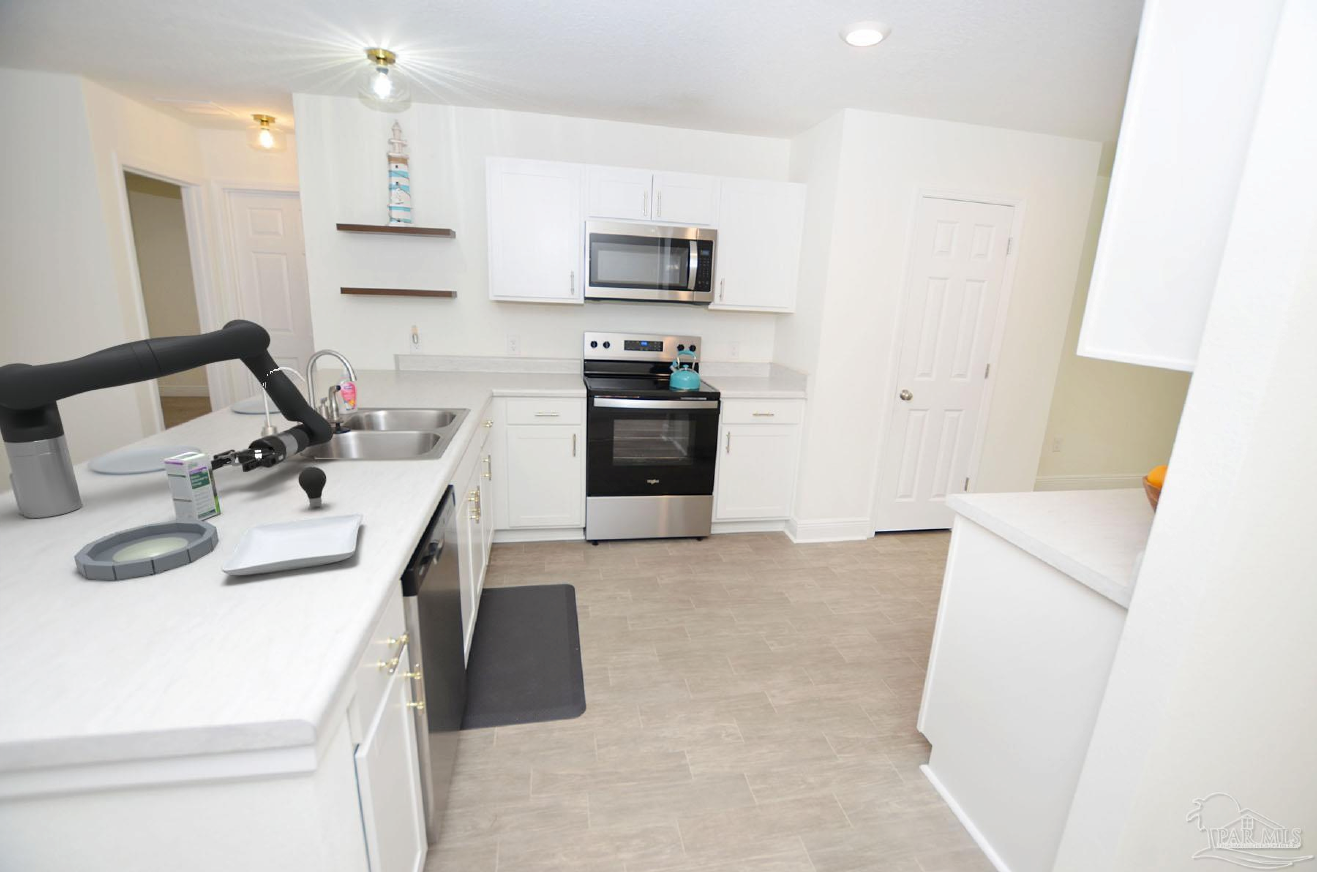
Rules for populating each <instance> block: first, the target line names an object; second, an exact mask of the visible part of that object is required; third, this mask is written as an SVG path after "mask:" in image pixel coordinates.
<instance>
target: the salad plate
mask: <svg viewBox="0 0 1317 872" xmlns="http://www.w3.org/2000/svg"><path fill="white" fill-rule="evenodd" d="M362 520H363V514H362V513H360V512H358V513H348V514H347V513H346V514H337V515H329V516H319V517H309V518H304V519H294V520H293V519H292V520H286V521H279V522H271V523H263V524H256V525H250V526H249V527H248V528H247V529H246V531H244V534H243V535H242V537H241V538H240V540H239V542H238V544H237V545H236V546H235V548H234V549H233V550H232V552H231V554H230V555H229V556H228V558H227V560H226V561H225V562H224V563H223V565H222V567H221V571H222V573H224V574H227V575H230V576H231V575H232V576H248V575H250V576H251V575H261V574H268V573H275V572H276V573H277V572H282V571H283V570H284V571H291V570H297V569H303V568H309V567H317V566H323V565H329V564H333V563H336V562H341V561H344V560H346V559H348V558H350V557H352V556H353V555H354V553H356V549H357V539H358V532H359V529H360V525H361V523H362ZM260 573H261V574H260Z"/></svg>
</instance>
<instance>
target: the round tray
mask: <svg viewBox="0 0 1317 872" xmlns="http://www.w3.org/2000/svg"><path fill="white" fill-rule="evenodd" d="M218 542H219V535H218V530H217V526H215V525H214V524H212V523H209V522H208V521H205V520H202V521H194V520H177V519H176V520H170V521H163V522H162V521H161V522H152V523H148V524H143V525H139V526H135V527H131V528H128V529H124V530H119V531H116V532H114V533H109V534H108V535H105V536H103V537H101V538H98V539H96V540H94V541H91V542H88V543H87V544H85V545H84V546H83V547H82V548H81V549H79V551H78V552H76V554H75V555H74V556H73V559H74V562H75V566H76V569H77V572H78V573H79V574H81V575H82V576H83V577H84V578H85V579H86V580H95V579H97V580H99V579H100V580H102V581H121V579H122V580H127V579H133V578H132V577H135V578H138V577H137V576H141V577H146V576H145V575H147V576H151V575H150V574H154V573H155V574H156V573H157V574H160V573H159V572H161V573H163V572H162V571H164V570H167V571H170V570H172V569H171V568H173V569H176V568H179V567H178V566H180V565H183V566H186V565H188V563H189V562H190V563H193V562H195V561H197V560H198V558H199V559H201V558H202V557H204V556H206V555H209V553H211V552H213V551H214V550H215V548H216V546H217V544H218ZM210 551H211V552H210ZM205 554H206V555H205ZM196 559H197V560H196ZM194 560H195V561H194ZM190 563H189V564H190ZM185 564H186V565H185ZM180 567H181V566H180ZM169 569H170V570H169ZM164 572H165V571H164ZM155 574H154V575H155ZM100 580H99V581H100Z"/></svg>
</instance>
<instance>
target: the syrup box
mask: <svg viewBox="0 0 1317 872" xmlns="http://www.w3.org/2000/svg"><path fill="white" fill-rule="evenodd" d="M211 461H212V460H211V457H210V454H209V453H207V452H200V451H188V452H185V453H181V454H178V455H174V456H171V457H167V458H164V459H163V464H164V468H165V473H166V477H167V482H168V486H169V491H170V495H171V499H172V503H173V507H174V513H175V516H176V520H179V521H180V520H194V521H205V520H206V519H208V518H211V517H214V516H217V515H219V514H221V513H222V512H221V511H222V510H221V507H220V502H219V497H218V493H217V492H218V491H217V487H216V480H215V477H214V470H213V471H212V465H211Z"/></svg>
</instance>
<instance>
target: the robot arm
mask: <svg viewBox="0 0 1317 872" xmlns="http://www.w3.org/2000/svg"><path fill="white" fill-rule="evenodd" d="M270 344H271V336H270V333H269V332H268V331H267V330H266V329H265V328H264V327H263V326H261V325H259V324H258V323H256V322H253V321H250V320H245V319H239V318H238V319H233V320H230V321H228V322H226V323H225V324H224V325H223V327H222V329H219V330H215V331H210V332H206V333H201V334H195V335H191V334H190V335H176V336H175V335H174V336H173V335H172V336H162V337H153V338H145V339H142V340H135V341H130V342H126V343H121V344H118V345H113V346H111V347H107V348H104V349H100V350H98V351H95V352H92V353H90V354H86V355H84V356H81V357H78V358H74V359H69V360H64V361H58V362H53V363H44V364H39V365H38V364H36V365H33V364H29V363H28V364H27V363H22V362H21V363H19V362H16V363H15V362H14V363H8V364H4V365H1V366H0V434H1V439H2V441H3V444H4V448H5V452H6V455H7V459H8V462H9V466H10V469H11V472H10V473H9V480H10V483H11V486H12V490H13V495H14V498H15V502H16V506H17V509H18V512H19V515H23V516H24V517H25V518H28V519H29V518H30V519H32V518H33V519H39V518H40V519H41V518H48V517H55V516H59V515H60V516H61V515H64V514H67V513H71V512H74V511H76V510H78V509H80V508H82V507H83V504H82V503H83V501H82V498H81V495H80V490H79V486H78V483H77V479H76V474H75V471H74V465H73V461H72V457H71V454H70V450H69V445H68V442H67V438H66V434H65V430H64V425H63V421H62V417H61V415H60V410H59V407H58V402H57V401H60V400H63V399H66V398H70V397H74V396H77V395H80V394H83V393H88V392H92V391H96V390H97V391H98V390H103V389H104V390H105V389H109V388H117V387H120V386H125V385H131V384H137V383H143V382H146V381H147V382H148V381H150V380H151V381H152V380H155V379H160V378H164V377H167V376H172V375H174V374H178V373H182V372H185V371H190V370H193V369H197V368H200V367H203V366H205V365H209V364H214V363H219V362H225V361H233V360H238V359H239V360H240V361H241V362H242V363H243V364H244V366H246V368H247V369H248V370H249V371H250V372H251V373H252V374H253V376H254V377H255V378H256V379H257V381H258V382H259V383H260V386H262V388H263V390H264V391H265V392H266V394H267V395H268V397H269V398H270V400H271V401H272V402H273V404H274V405H275V407H276V408H277V409H278V411H279V412H280V413H281V415H282V416H283V417H284V419H286V421H288V422H295V423H297V422H298V423H300V424H297V425H294V426H291V428H289V429H286V430H283V431H280V432H276V433H272V434H269V435H266V436H264V437H260V438H258V439H255V440H253V441H251V443H250V444H249V445H248V447H247V448H243V449H242V450H238V451H236V450H235V449H230V450H227V451H226V450H225V451H224V452H221V453H217V454H214V455H213V456H212V457H213V458H212V459H213V460H211V465H212V471H213V472H214V471H215V470H217V469H218V470H219V469H221V468H224V467H228V466H232V467H239V466H241V468H242V472H243V473H249V472H251V471H254V470H255V469H262V468H267V469H270V468H272V467H274V466H276V465H279V464H280V463H283V462H284V461H286V460H288V459H290V458H291V457H292V456H295V455H298V454H299V453H301V452H303V451H305V450H306V449H307V448H310V447H314V446H319V445H323V444H327V443H329V442H331V440H332V439H333V438H334V429H333V427H332V425H331V423H330V422H329V421H328V420H327V419H326V418H325V417H324V416H323V415H321V413H319V412H318V411H317V410H316V409H314V408H313V407H311V405H310V404H309V403H308V401H307V400H306V398H305V397H304V396H303V394H302V393H301V391H300V390H299V389H298V387H297V386H296V385H295V384H294V382H292V381H293V380H291V379H290V378H289V376H287V375H286V373H285V372H284V371H283V369H281V370H279V371H273V370H274V369H278V368H280V366H279V365H278V363H276V361H275V360H274V359H273V357H272V355H271V354H270V352H269V350H268V348H269V347H270ZM270 371H273V373H272V372H271V374H270ZM267 374H268V376H267ZM265 382H266V388H265ZM263 383H264V386H263ZM236 460H238V461H237V462H236Z"/></svg>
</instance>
